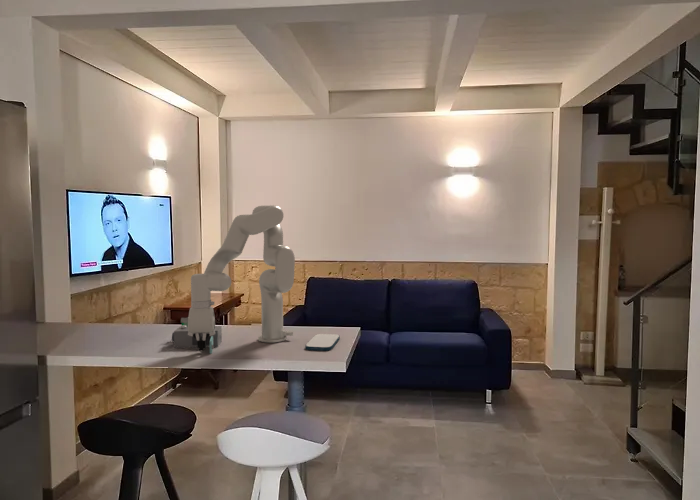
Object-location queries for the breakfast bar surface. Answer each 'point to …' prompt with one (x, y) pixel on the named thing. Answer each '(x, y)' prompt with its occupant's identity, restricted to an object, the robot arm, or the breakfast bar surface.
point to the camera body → (184, 340)
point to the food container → (184, 321)
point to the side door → (211, 344)
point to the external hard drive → (322, 342)
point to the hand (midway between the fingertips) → (201, 349)
